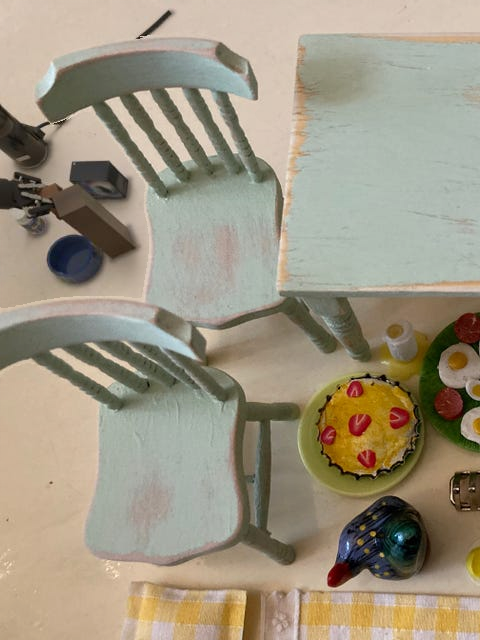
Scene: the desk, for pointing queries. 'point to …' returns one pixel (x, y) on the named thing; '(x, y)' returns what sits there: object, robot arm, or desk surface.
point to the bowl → (74, 258)
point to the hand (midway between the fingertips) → (64, 197)
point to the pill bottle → (28, 221)
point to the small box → (99, 179)
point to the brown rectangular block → (93, 220)
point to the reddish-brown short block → (47, 194)
